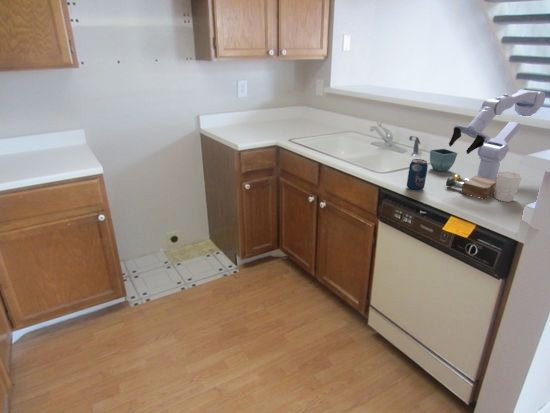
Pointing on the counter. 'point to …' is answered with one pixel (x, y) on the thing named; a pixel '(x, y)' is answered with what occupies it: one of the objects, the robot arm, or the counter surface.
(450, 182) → the plunger
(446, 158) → the flower pot
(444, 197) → the counter surface
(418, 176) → the soda can
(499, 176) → the white cup
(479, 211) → the counter surface
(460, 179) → the plunger
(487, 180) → the catch block
